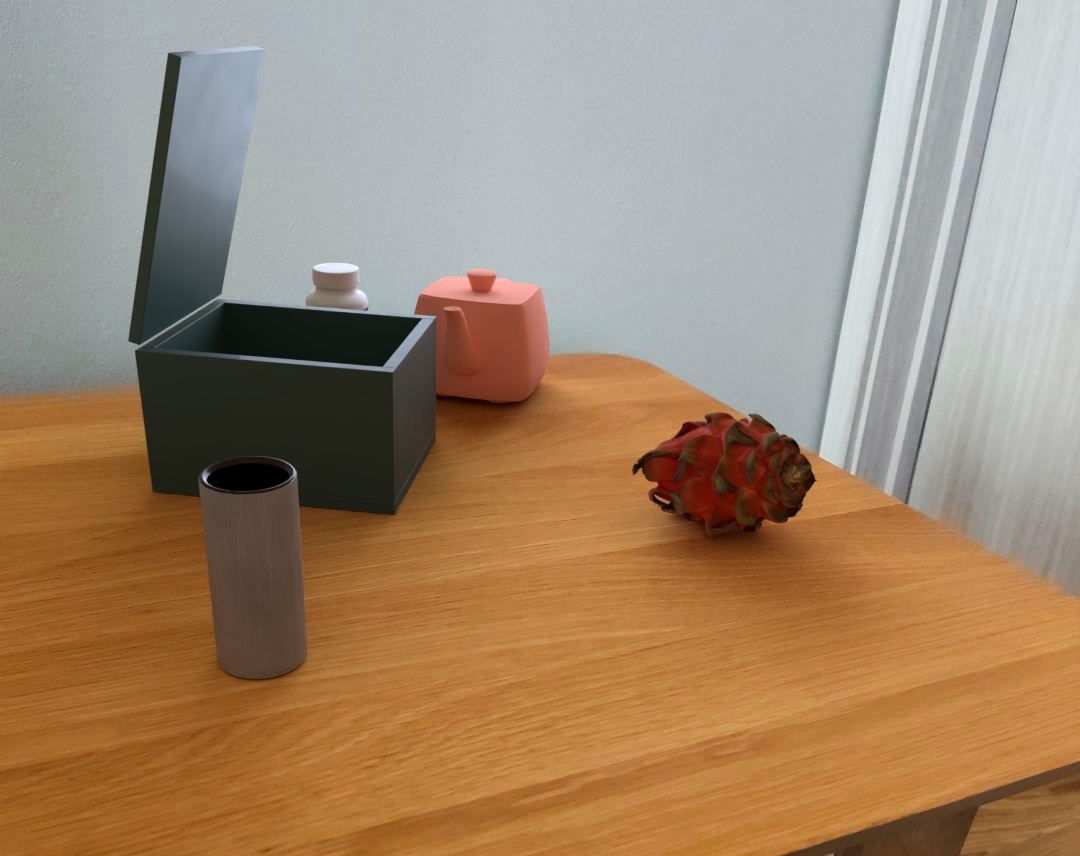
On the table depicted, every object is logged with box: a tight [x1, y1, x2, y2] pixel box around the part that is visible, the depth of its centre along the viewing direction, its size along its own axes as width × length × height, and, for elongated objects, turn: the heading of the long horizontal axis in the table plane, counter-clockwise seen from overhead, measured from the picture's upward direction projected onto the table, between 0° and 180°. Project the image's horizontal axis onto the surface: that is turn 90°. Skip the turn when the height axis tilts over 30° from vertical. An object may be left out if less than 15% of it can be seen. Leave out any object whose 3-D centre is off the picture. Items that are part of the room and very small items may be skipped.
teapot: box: [413, 268, 550, 404], centre depth 92 cm, size 12×18×10 cm, turn 167°
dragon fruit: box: [632, 411, 818, 538], centre depth 70 cm, size 8×8×12 cm
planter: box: [199, 456, 308, 680], centre depth 53 cm, size 4×4×10 cm
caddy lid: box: [127, 45, 266, 346], centre depth 69 cm, size 18×14×1 cm
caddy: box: [134, 298, 437, 515], centre depth 75 cm, size 17×14×10 cm
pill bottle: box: [305, 262, 369, 311], centre depth 94 cm, size 5×5×10 cm
